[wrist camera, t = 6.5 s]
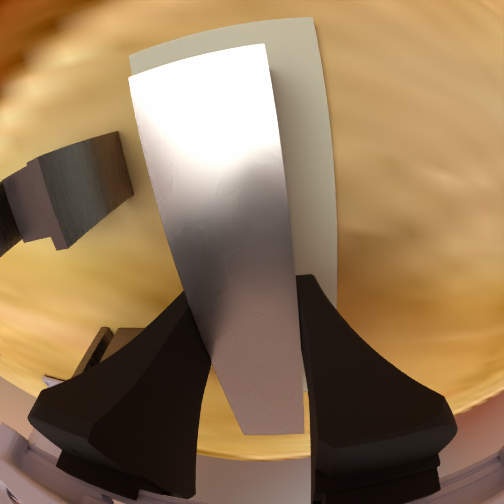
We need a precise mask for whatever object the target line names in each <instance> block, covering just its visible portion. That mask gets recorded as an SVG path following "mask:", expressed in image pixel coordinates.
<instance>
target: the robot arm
mask: <svg viewBox="0 0 504 504" xmlns="http://www.w3.org/2000/svg"><path fill="white" fill-rule="evenodd" d="M295 276H296V288H297V300H298V314H299V328H300V343H301V352H302V358H303V364H304V370H305V376H306V382H307V389H308V396H309V410H310V438H311V504H504V446H503V447H502V448H501V449H500V450H499V451H498V452H496V453H494V454H492V455H490V456H488V457H486V458H485V459H482V460H480V461H478V462H476V463H474V464H472V465H470V466H468V467H466V468H464V469H461V470H459V471H457V472H454V473H452V474H449V475H447V476H444V477H442V478H439V477H438V472H437V467H438V466H440V459H439V455H438V453H439V452H440V451H441V450H442V449H443V448H444V447H445V446H446V445H447V444H448V443H449V442H450V441H451V440H452V439H453V438H454V436H455V435H456V433H457V429H458V428H457V425H456V422H455V419H454V416H453V413H452V411H451V409H450V407H449V405H448V403H447V401H446V399H445V397H444V396H442V395H440V394H439V393H437V392H435V391H433V390H431V389H429V388H427V387H426V386H424V385H422V384H420V383H418V382H417V381H415V380H413V379H412V378H410V377H409V376H407V375H406V374H404V373H403V372H401V371H400V370H399V369H397V368H396V367H395V366H394V365H392V364H391V363H390V362H388V361H387V360H386V359H384V358H383V357H382V356H381V355H379V354H378V353H377V352H376V351H375V350H374V349H373V348H371V347H370V346H369V345H368V344H367V343H366V342H365V341H364V340H363V339H362V338H361V337H360V336H359V335H358V334H357V333H356V332H355V331H354V330H353V329H352V328H351V327H350V326H349V324H348V323H347V322H346V321H345V320H344V319H343V317H342V316H341V315H340V314H339V312H338V311H337V310H336V309H335V307H334V306H333V305H332V303H331V302H330V301H329V299H328V298H327V296H326V295H325V293H324V292H323V290H322V289H321V287H320V285H319V284H318V282H317V280H316V278H315V276H314V275H313V274H306V275H295ZM210 367H211V360H210V358H209V355H208V353H207V350H206V348H205V345H204V343H203V340H202V338H201V335H200V332H199V330H198V327H197V325H196V322H195V319H194V317H193V314H192V311H191V308H190V306H189V303H188V300H187V297H186V295H185V292H184V291H183V292H182V293H181V294H180V295H179V296H178V297H177V298H176V299H175V300H174V301H173V302H172V303H171V304H170V305H169V306H168V307H167V308H166V309H165V310H164V311H163V312H162V313H161V314H160V315H159V316H158V317H157V318H156V319H155V320H154V321H153V322H151V323H150V324H149V325H148V326H147V327H146V328H145V329H144V330H143V331H142V332H141V333H139V334H138V335H137V336H136V337H135V338H134V339H132V340H131V341H130V342H129V343H127V344H126V345H125V346H123V347H122V348H121V349H119V350H118V351H117V352H115V353H114V354H112V355H111V356H109V357H108V358H106V359H104V360H103V361H101V362H100V363H98V364H97V365H95V366H93V367H92V368H90V369H88V370H86V371H84V372H83V373H81V374H79V375H77V376H75V377H73V378H71V379H68V380H66V381H60V380H57V379H53V378H49V377H46V376H43V377H42V380H43V381H44V383H45V384H46V385H47V386H48V387H49V388H47V389H44V390H42V391H41V392H40V394H39V396H38V398H37V400H36V402H35V404H34V406H33V407H32V409H31V411H30V413H29V415H28V421H29V422H30V424H31V425H32V426H33V427H34V428H33V430H32V432H31V434H30V437H29V439H28V440H27V439H26V438H24V437H23V436H22V435H21V434H19V433H18V432H17V431H15V430H14V429H12V428H10V427H9V426H8V425H6V424H4V423H1V425H0V504H19V503H18V502H16V501H15V500H14V499H13V498H12V497H14V498H15V499H17V500H18V501H20V502H21V503H22V504H114V502H113V500H112V499H114V500H117V501H120V502H122V503H125V504H208V503H201V502H194V501H188V500H183V499H189V498H191V497H193V496H194V495H195V494H196V488H195V483H196V482H195V480H196V478H195V477H196V451H197V438H198V428H199V419H200V411H201V404H202V399H203V394H204V390H205V386H206V382H207V378H208V375H209V371H210ZM10 495H11V496H12V497H11V496H10ZM164 495H166V496H164ZM168 496H171V497H168ZM172 496H173V497H178V498H183V499H178V498H173V497H172Z"/></svg>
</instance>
